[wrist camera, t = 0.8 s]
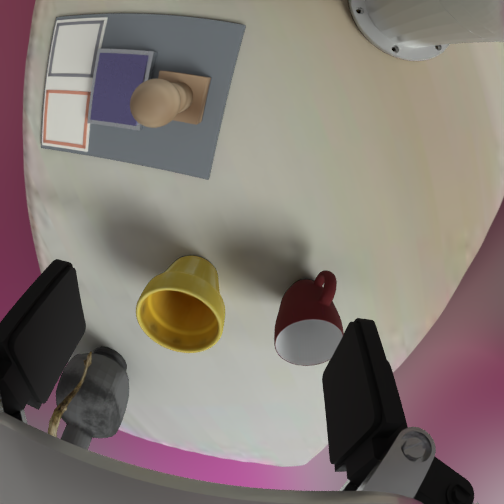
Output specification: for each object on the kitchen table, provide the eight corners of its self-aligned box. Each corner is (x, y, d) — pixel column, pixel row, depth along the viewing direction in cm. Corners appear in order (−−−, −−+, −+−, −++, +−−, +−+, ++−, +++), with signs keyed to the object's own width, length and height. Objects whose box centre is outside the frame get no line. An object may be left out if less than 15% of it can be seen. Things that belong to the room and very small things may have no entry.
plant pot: (236, 248, 41) (225, 296, 32) (229, 309, 46) (219, 360, 38) (158, 236, 41) (130, 280, 32) (160, 297, 46) (139, 344, 38)
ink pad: (103, 48, 28) (97, 48, 26) (158, 52, 28) (153, 51, 27) (93, 120, 32) (86, 123, 31) (144, 128, 33) (138, 130, 31)
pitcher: (92, 373, 60) (43, 489, 34) (78, 312, 50) (-1, 453, 24) (137, 388, 60) (97, 513, 35) (133, 329, 50) (67, 489, 25)
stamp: (167, 70, 29) (122, 71, 20) (211, 77, 30) (182, 78, 20) (159, 113, 32) (113, 132, 22) (202, 121, 32) (170, 141, 23)
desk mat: (59, 17, 25) (56, 17, 25) (245, 26, 27) (245, 25, 26) (43, 146, 35) (41, 147, 34) (209, 178, 36) (208, 179, 36)
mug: (289, 243, 40) (292, 294, 31) (349, 257, 40) (365, 308, 32) (269, 306, 45) (266, 360, 37) (322, 316, 46) (329, 369, 37)
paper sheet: (57, 20, 25) (56, 20, 25) (107, 17, 26) (106, 17, 25) (42, 144, 34) (41, 145, 34) (88, 151, 34) (86, 152, 34)
